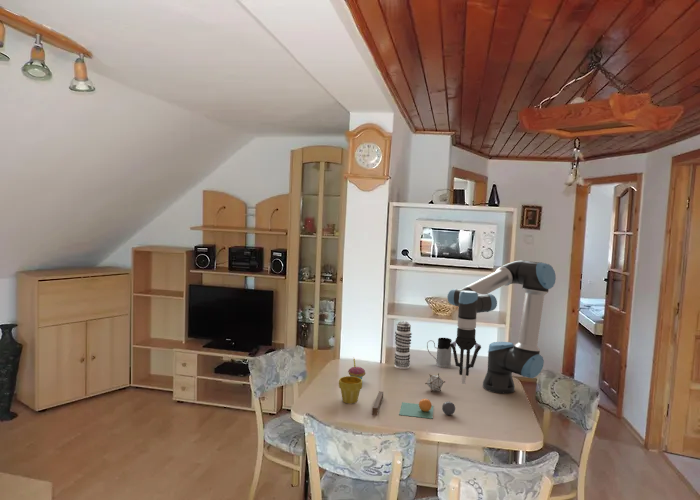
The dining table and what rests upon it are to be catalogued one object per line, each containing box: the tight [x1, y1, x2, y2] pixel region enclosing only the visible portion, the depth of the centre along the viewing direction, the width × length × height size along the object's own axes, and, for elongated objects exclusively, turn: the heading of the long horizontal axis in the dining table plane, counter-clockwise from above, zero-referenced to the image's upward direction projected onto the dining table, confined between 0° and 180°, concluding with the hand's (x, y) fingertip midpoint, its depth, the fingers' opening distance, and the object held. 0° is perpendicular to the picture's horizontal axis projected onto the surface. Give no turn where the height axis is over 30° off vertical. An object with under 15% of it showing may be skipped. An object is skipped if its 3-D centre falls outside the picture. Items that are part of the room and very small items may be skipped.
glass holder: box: [426, 337, 453, 369], centre depth 279 cm, size 9×14×15 cm, turn 80°
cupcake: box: [347, 358, 366, 380], centre depth 246 cm, size 9×8×12 cm
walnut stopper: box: [371, 390, 384, 416], centre depth 215 cm, size 2×20×3 cm, turn 169°
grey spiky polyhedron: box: [424, 373, 446, 393], centre depth 237 cm, size 9×8×10 cm
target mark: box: [398, 401, 435, 420], centre depth 212 cm, size 14×14×1 cm
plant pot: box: [338, 375, 363, 405], centre depth 220 cm, size 10×10×10 cm
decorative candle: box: [394, 320, 413, 370], centre depth 272 cm, size 9×9×25 cm
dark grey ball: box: [441, 401, 456, 416], centre depth 209 cm, size 6×6×6 cm
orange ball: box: [418, 398, 433, 412], centre depth 211 cm, size 6×6×6 cm
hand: (463, 382), depth 207 cm, fingers closed
